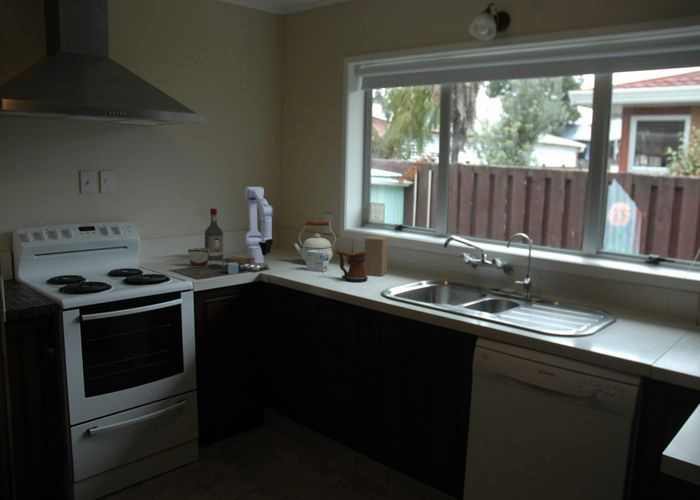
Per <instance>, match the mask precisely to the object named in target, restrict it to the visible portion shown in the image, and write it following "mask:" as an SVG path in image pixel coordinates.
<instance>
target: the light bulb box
mask: <svg viewBox="0 0 700 500" xmlns="http://www.w3.org/2000/svg"><path fill="white" fill-rule="evenodd" d="M329 267H330V261H329V251H319V250H310V251H307V264H306V271H309V272H310V271H311V272H322V273H324V272H327V271H329V270H330V269H329Z"/></svg>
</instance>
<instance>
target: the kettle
mask: <svg viewBox="0 0 700 500" xmlns="http://www.w3.org/2000/svg"><path fill="white" fill-rule="evenodd" d="M307 226H320V227H322V226H323V227H324V226H326V227H328V228H329V231H330V232H331V233H332V235H333V236H334V241H333V244H331V242H330V240H329V239H327V238H324V237H321V234H320V233H318V232H317V233H315V234H314V235H313V237H310V238H307V239H306V240H304V241H303V244H302V241H301V234H302V233H303V232H304V231H305V229H306V228H307ZM298 240H299V244H300V245H298V244H297V243H293V246H294V247H295V249H296V252H297V253H298V254H299V255H300V256H301V258H302V260H303V261H304V264H305V265H307V251H310V250H319V251H329V262H330V261H331V260H332V258H333V255H334V254H333V250H334V249H335V247H334V246H335V243H336V241H337V237H336V235H335V233H334V231H332V229H331V221H324V220H323V221H319V220H318V221H317V220H315V221H314V220H304V228H302V230H301V231H300V233H299V235H298Z"/></svg>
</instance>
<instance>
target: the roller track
mask: <svg viewBox="0 0 700 500" xmlns="http://www.w3.org/2000/svg"><path fill="white" fill-rule="evenodd" d="M219 268H221V269H227V270H228V263H227V262H226V261H224V262H222V263H221V266H219ZM270 269H271V268H270V267H269V264H268V262H267V263H265V262H264V263H256V262H252V263H248V264H244V265H243V264H238V271H242V272H247V273H248V272H249V273H254V274H255V273H259V272H263V271H267V270H270Z"/></svg>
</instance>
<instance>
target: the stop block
mask: <svg viewBox="0 0 700 500" xmlns="http://www.w3.org/2000/svg"><path fill="white" fill-rule="evenodd" d="M227 273H229V274H228V275H236V274H237V275H239V270H238V263H228V269H227Z"/></svg>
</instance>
